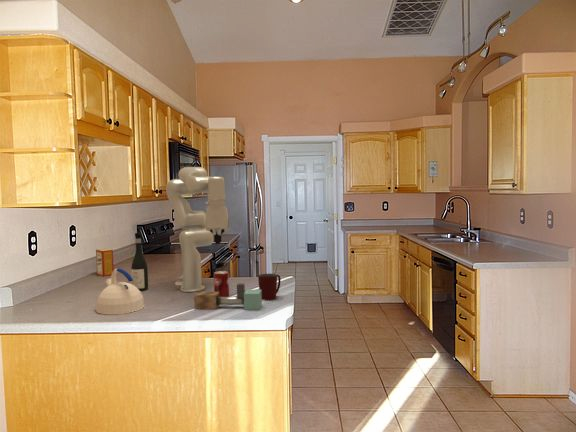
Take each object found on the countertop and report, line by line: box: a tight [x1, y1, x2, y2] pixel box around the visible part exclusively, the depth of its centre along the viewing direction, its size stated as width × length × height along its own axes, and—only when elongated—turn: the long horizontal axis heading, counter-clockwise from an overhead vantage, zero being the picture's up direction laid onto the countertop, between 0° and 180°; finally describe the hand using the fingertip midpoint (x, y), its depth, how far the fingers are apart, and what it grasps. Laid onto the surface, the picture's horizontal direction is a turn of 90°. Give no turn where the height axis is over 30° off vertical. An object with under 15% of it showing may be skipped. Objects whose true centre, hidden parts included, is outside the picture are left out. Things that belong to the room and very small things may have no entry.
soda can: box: [213, 270, 230, 297], centre depth 218 cm, size 7×7×12 cm
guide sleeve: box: [194, 291, 220, 310], centre depth 200 cm, size 10×6×6 cm
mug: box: [257, 273, 282, 301], centre depth 214 cm, size 12×9×11 cm
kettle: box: [95, 268, 145, 316], centre depth 201 cm, size 20×21×18 cm
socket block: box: [243, 289, 263, 311], centre depth 198 cm, size 6×8×7 cm
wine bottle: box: [130, 232, 149, 292], centre depth 236 cm, size 8×8×30 cm
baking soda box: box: [95, 248, 115, 277], centre depth 280 cm, size 10×6×16 cm
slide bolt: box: [216, 282, 246, 306], centre depth 199 cm, size 22×3×9 cm, turn 85°
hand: (217, 243), depth 208 cm, fingers closed
